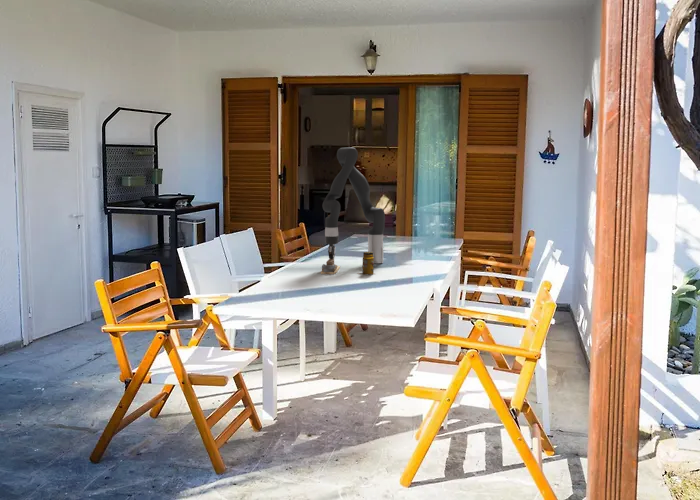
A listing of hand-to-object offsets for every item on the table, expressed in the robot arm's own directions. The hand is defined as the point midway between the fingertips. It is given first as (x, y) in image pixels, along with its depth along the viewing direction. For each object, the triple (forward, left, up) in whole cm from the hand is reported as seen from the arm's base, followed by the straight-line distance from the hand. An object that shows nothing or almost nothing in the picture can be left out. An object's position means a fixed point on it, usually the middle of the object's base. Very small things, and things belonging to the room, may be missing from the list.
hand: (331, 265), depth 397 cm
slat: (0, +8, -1) cm, 8 cm away
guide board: (0, +6, -2) cm, 7 cm away
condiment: (-21, +16, -2) cm, 27 cm away
